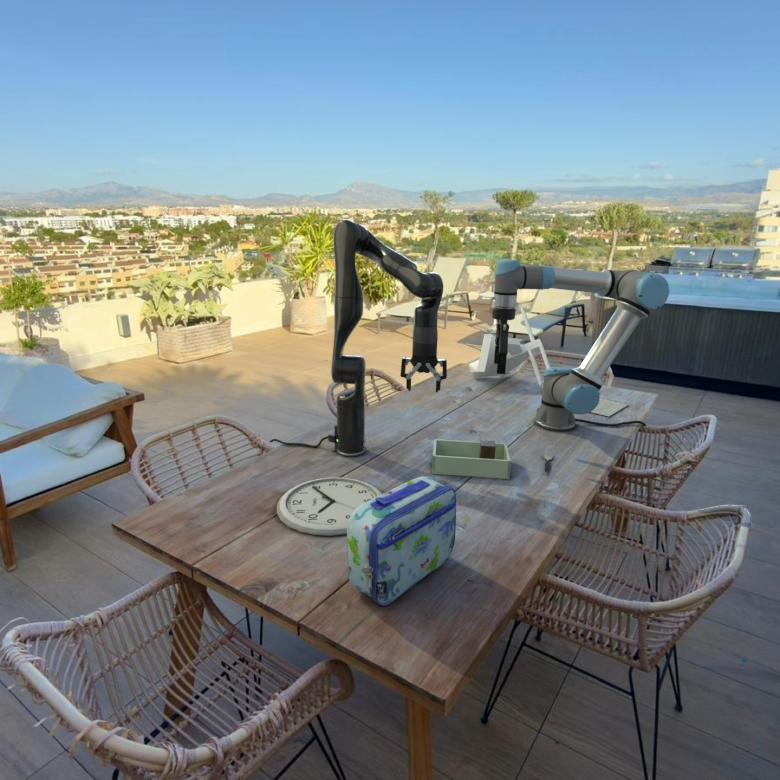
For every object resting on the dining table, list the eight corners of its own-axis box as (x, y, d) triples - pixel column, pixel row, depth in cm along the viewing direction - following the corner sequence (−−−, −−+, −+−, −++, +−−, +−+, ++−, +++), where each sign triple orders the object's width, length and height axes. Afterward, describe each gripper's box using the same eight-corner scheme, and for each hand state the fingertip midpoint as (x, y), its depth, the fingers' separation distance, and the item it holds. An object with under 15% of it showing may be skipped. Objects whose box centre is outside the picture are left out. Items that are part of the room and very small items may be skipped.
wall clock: (392, 527, 129) (268, 531, 127) (391, 533, 130) (269, 537, 127) (383, 473, 158) (282, 475, 155) (383, 478, 158) (282, 480, 156)
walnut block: (492, 464, 168) (494, 441, 166) (493, 470, 164) (495, 446, 162) (478, 463, 169) (480, 440, 166) (479, 469, 164) (481, 445, 162)
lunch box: (376, 619, 101) (377, 524, 95) (340, 592, 109) (339, 502, 102) (459, 562, 119) (465, 479, 113) (424, 542, 126) (427, 463, 120)
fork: (540, 473, 163) (541, 467, 163) (544, 453, 178) (545, 448, 177) (549, 474, 162) (550, 468, 162) (552, 454, 177) (553, 449, 176)
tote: (505, 460, 173) (506, 443, 171) (509, 479, 160) (511, 461, 158) (433, 455, 175) (434, 439, 173) (431, 473, 162) (432, 456, 160)
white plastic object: (490, 419, 265) (470, 397, 240) (471, 347, 287) (451, 319, 262) (561, 395, 253) (548, 369, 228) (536, 321, 275) (521, 290, 250)
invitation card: (608, 416, 214) (573, 407, 224) (608, 416, 214) (573, 408, 224) (628, 404, 229) (594, 396, 238) (628, 405, 229) (594, 397, 238)
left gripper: (448, 338, 162) (446, 388, 166) (402, 336, 163) (401, 386, 168) (448, 343, 154) (445, 395, 159) (400, 341, 156) (399, 393, 161)
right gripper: (490, 301, 187) (486, 359, 193) (495, 312, 163) (490, 377, 170) (511, 302, 186) (506, 360, 192) (520, 313, 162) (514, 378, 169)
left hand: (423, 390), depth 164 cm, fingers open, 8 cm apart
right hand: (499, 368), depth 181 cm, fingers open, 13 cm apart
